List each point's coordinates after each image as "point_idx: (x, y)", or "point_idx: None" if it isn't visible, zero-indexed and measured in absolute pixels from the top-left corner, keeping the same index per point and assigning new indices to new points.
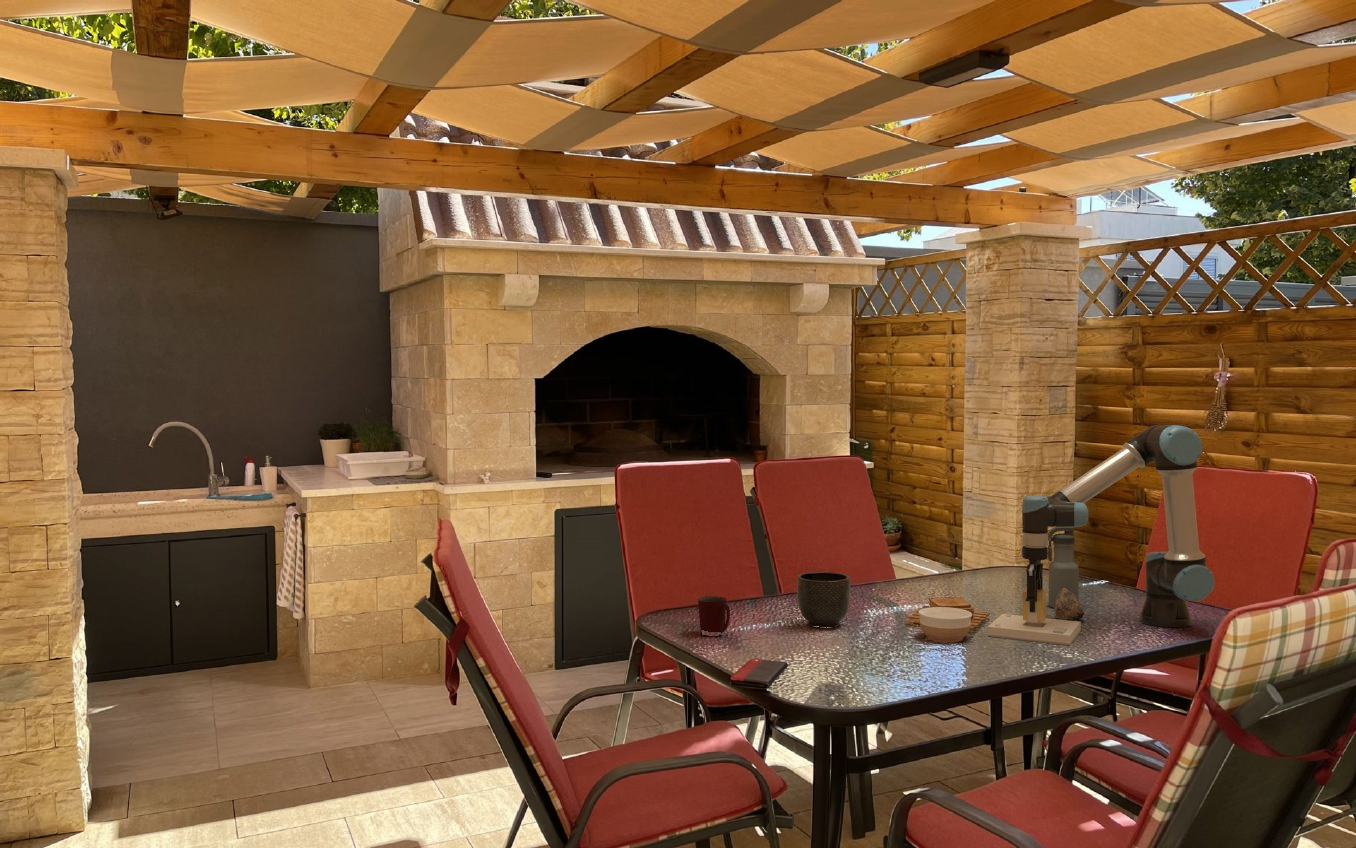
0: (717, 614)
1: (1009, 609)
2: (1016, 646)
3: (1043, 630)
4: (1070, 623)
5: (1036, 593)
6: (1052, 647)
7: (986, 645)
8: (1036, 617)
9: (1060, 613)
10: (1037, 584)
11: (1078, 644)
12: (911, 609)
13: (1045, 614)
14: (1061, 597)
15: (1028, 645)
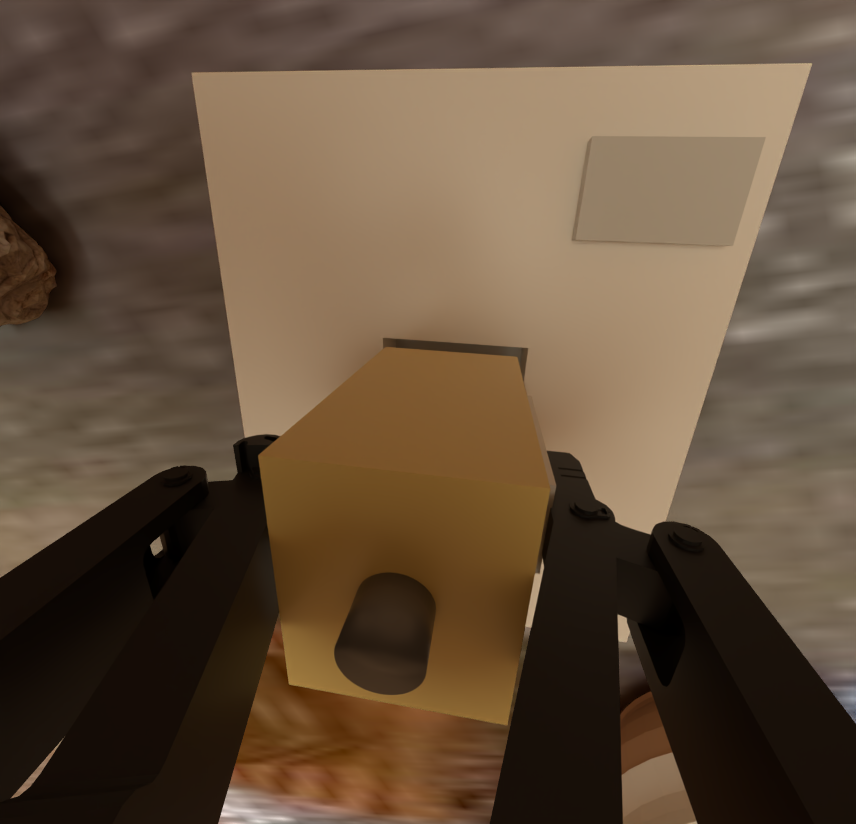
0: None
1: (15, 536)
2: (840, 455)
3: (645, 330)
4: (299, 153)
5: (602, 580)
6: (837, 229)
7: (837, 595)
8: (536, 417)
9: (17, 286)
10: (525, 722)
11: (683, 33)
12: (258, 803)
13: (400, 359)
14: None
15: (796, 392)
